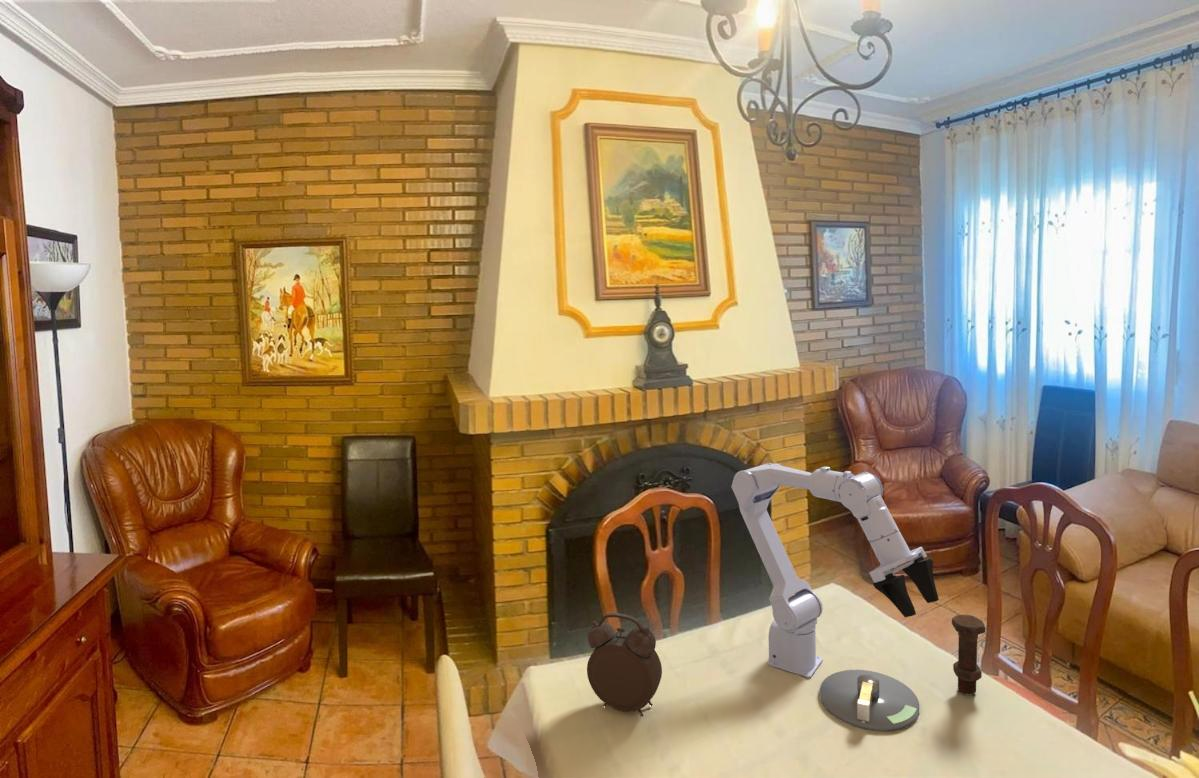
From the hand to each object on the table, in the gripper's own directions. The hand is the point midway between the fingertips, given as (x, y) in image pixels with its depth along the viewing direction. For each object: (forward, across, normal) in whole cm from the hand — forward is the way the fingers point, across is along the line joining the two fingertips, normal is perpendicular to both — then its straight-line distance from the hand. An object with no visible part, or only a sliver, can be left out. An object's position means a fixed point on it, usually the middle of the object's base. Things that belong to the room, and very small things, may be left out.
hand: (922, 608), depth 117 cm
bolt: (+20, +16, +12) cm, 28 cm away
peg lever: (+14, -4, +19) cm, 24 cm away
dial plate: (+14, -1, +21) cm, 25 cm away
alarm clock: (-2, -38, +46) cm, 60 cm away
